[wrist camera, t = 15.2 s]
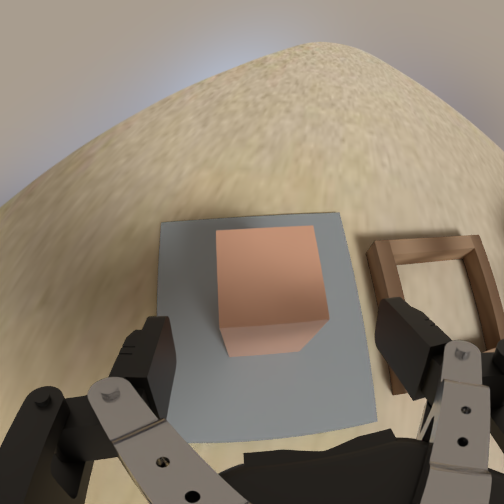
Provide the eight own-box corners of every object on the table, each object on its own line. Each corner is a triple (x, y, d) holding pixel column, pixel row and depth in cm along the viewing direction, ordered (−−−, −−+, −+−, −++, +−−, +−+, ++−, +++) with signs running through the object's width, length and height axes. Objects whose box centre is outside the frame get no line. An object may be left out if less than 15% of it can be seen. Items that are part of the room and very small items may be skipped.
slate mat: (162, 441, 17) (160, 442, 17) (162, 225, 24) (161, 222, 24) (375, 421, 18) (377, 421, 18) (338, 215, 25) (339, 212, 25)
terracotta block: (229, 357, 20) (219, 327, 13) (225, 291, 22) (216, 230, 15) (299, 351, 20) (329, 318, 13) (291, 287, 22) (313, 225, 15)
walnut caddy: (392, 395, 19) (405, 393, 17) (365, 253, 24) (374, 240, 22) (497, 361, 19) (512, 356, 18) (467, 245, 24) (479, 234, 22)
